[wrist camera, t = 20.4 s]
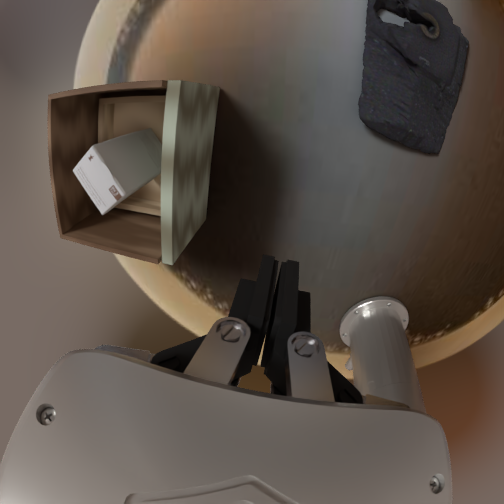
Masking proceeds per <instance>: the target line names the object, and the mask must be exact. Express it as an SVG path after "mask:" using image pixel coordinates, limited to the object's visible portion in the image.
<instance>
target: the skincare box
mask: <svg viewBox="0 0 504 504" xmlns="http://www.w3.org/2000/svg"><path fill="white" fill-rule="evenodd" d="M161 161H162V144H161V143H160V141H159V140H158V138H157V137H156V135H155V134H154V132H153V131H152V129H151V128H148V129H144V130H140V131H137V132H133V133H130V134H126V135H123V136H119V137H116V138H113V139H110V140H107V141H104V142H102V143H98V144H95V145H93V146H92V147H91V148H90V149H89V150H88V152H87V153H86V154H85V155H84V156H83V158H82V159H81V160H80V161H79V163H78V164H77V165H76V167H75V168H74V169H73V172H74V174H75V175H76V177H77V178H78V180H79V181H80V183H81V184H82V186H83V187H84V189H85V190H86V192H87V193H88V195H89V196H90V198H91V199H92V201H93V202H94V204H95V205H96V207H97V208H98V209H99V211H100V212H101V214H102V215H104V214H106V213H107V212H109V211H110V210H111V209H113V208H114V207H115V206H116V205H118V204H119V203H120V202H122V201H123V200H124V199H126V198H127V197H129V196H130V195H131V194H133V193H134V192H136V191H137V190H139V189H140V188H141V187H143V186H144V185H146V184H147V183H149V182H150V181H152V180H153V179H154V178H156V177H157V176H158V175H159V174H161Z"/></svg>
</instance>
